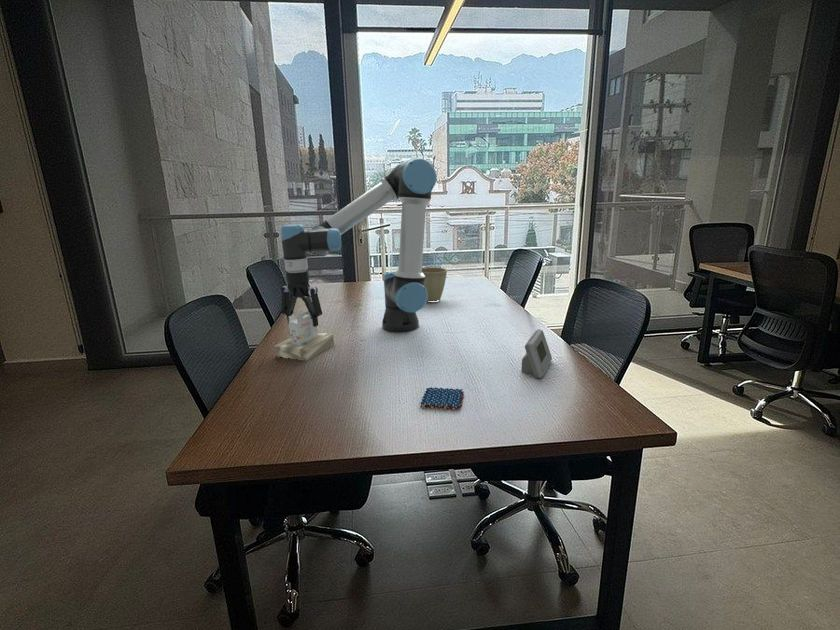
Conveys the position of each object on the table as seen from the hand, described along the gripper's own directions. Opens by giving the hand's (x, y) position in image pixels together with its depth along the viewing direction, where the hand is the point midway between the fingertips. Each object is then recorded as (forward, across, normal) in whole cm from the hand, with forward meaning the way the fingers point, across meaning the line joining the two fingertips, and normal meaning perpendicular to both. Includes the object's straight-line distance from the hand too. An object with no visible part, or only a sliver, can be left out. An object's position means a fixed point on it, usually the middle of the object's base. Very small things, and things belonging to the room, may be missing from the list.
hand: (304, 333), depth 154 cm
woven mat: (+7, +59, -22) cm, 63 cm away
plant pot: (+6, +21, +78) cm, 81 cm away
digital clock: (+7, +80, +6) cm, 81 cm away
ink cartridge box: (+6, 0, 0) cm, 6 cm away
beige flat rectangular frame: (+6, 0, 0) cm, 6 cm away
